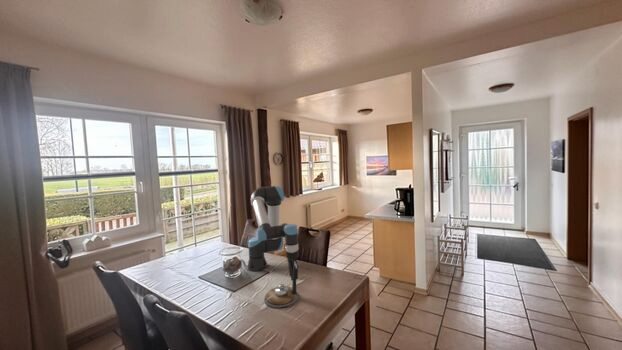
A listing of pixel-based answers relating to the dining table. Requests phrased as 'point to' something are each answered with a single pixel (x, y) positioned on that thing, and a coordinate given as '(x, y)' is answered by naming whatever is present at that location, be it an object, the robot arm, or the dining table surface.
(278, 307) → the turntable base
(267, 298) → the platter
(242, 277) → the dining table surface
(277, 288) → the cover
